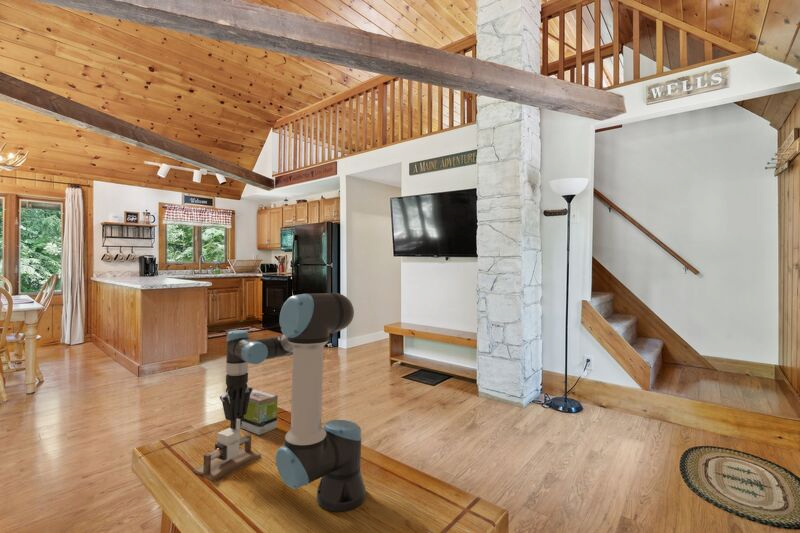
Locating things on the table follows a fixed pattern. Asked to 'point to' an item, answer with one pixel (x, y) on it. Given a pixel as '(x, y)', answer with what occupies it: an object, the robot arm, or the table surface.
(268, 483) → the table surface
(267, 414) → the tea box
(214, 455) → the pipe
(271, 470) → the table surface
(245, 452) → the board
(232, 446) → the sleeve
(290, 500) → the table surface
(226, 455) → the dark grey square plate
